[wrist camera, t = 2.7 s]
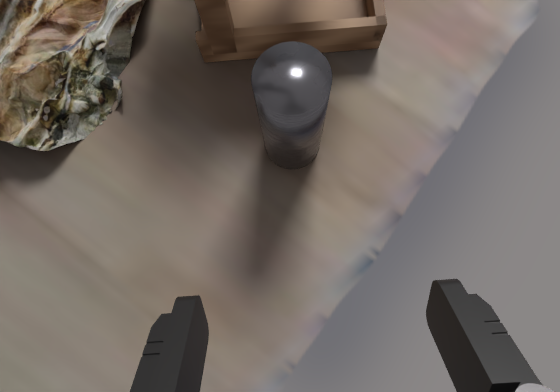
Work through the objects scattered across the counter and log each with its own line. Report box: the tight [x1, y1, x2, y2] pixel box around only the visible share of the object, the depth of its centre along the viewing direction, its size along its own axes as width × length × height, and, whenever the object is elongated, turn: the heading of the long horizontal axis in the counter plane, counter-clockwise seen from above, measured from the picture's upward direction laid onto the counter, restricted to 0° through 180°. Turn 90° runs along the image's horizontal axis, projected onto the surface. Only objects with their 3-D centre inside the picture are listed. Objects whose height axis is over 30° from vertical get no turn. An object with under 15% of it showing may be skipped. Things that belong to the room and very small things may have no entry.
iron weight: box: [251, 41, 332, 169], centre depth 24 cm, size 4×4×10 cm
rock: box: [0, 0, 145, 151], centre depth 30 cm, size 23×7×15 cm
